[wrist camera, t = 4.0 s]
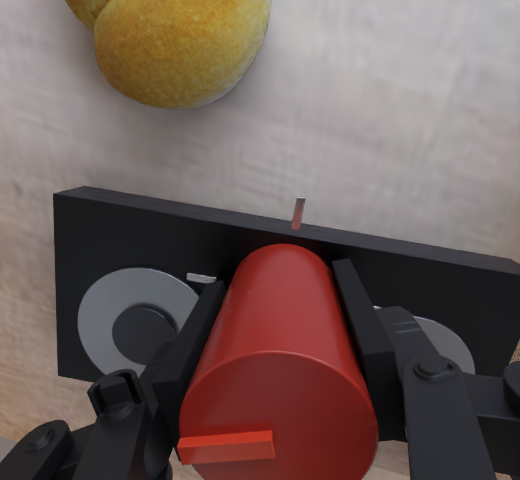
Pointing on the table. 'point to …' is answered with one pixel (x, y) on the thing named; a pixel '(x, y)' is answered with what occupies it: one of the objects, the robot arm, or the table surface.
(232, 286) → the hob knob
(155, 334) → the burner rings
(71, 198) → the hob
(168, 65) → the bread roll
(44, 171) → the table surface
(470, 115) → the table surface
